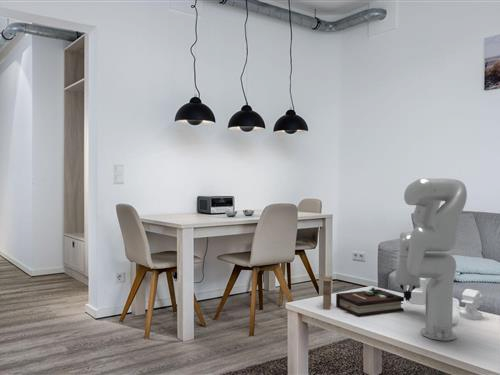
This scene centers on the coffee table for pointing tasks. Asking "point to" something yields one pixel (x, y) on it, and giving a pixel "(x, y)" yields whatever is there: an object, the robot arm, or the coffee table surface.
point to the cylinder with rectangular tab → (418, 294)
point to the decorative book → (369, 302)
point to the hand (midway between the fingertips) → (407, 299)
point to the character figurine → (471, 304)
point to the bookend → (327, 292)
